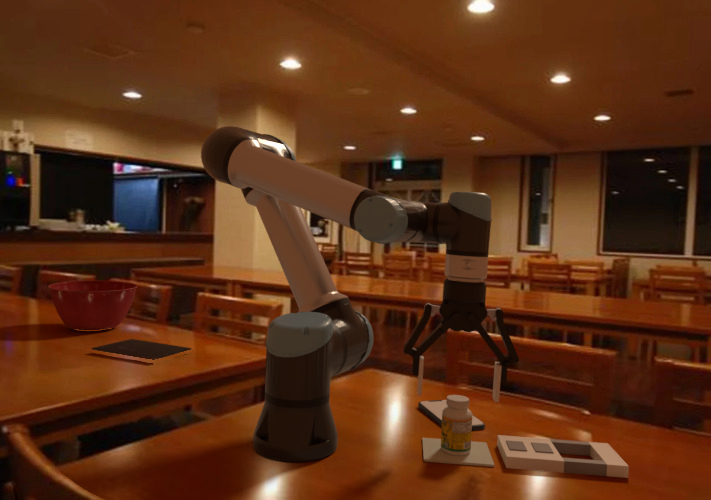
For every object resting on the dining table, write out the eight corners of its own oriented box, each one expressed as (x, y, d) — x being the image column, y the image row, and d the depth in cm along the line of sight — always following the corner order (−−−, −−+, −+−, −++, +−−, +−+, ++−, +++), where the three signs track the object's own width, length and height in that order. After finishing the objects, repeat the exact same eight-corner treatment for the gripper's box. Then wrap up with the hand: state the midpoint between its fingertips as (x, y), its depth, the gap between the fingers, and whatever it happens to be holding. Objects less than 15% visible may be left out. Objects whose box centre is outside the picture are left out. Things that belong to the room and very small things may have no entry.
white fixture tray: (506, 468, 96) (506, 455, 96) (497, 445, 106) (497, 433, 106) (628, 477, 94) (629, 465, 94) (607, 453, 104) (607, 442, 104)
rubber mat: (423, 461, 97) (423, 459, 97) (422, 439, 107) (422, 437, 107) (494, 467, 96) (494, 464, 96) (486, 444, 106) (486, 442, 106)
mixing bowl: (143, 333, 193) (144, 288, 192) (48, 339, 178) (49, 290, 178) (130, 319, 217) (131, 280, 216) (46, 323, 203) (46, 280, 202)
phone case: (487, 432, 114) (451, 405, 130) (487, 424, 114) (451, 398, 129) (448, 435, 112) (415, 407, 127) (448, 427, 112) (416, 401, 127)
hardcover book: (153, 366, 153) (153, 358, 153) (91, 355, 162) (91, 347, 162) (192, 355, 167) (192, 347, 167) (133, 345, 176) (133, 338, 176)
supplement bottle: (473, 457, 99) (475, 403, 98) (442, 455, 99) (445, 401, 98) (467, 445, 104) (470, 394, 104) (438, 443, 104) (441, 392, 104)
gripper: (394, 276, 98) (387, 396, 99) (541, 286, 95) (532, 409, 96) (395, 272, 105) (388, 384, 106) (532, 281, 103) (523, 395, 104)
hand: (457, 396), depth 101 cm, fingers open, 13 cm apart
